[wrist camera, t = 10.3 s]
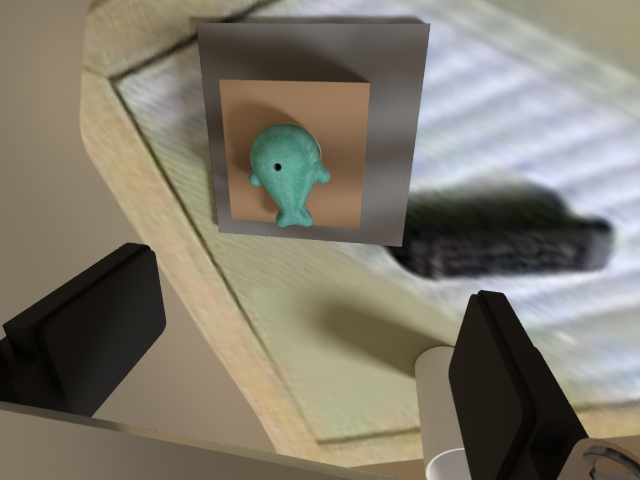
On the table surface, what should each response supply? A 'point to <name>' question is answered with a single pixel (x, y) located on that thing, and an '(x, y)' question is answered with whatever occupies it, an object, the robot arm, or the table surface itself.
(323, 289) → the table surface
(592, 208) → the table surface
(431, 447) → the mug
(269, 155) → the whale figurine
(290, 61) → the display plinth
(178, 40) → the table surface
